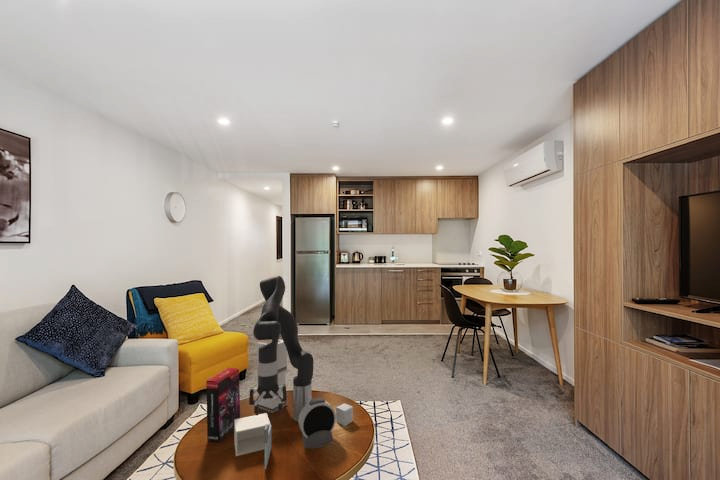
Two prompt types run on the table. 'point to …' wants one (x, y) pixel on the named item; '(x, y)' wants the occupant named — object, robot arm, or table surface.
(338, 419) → the product box
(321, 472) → the table surface
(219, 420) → the graphics card box
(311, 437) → the alarm clock
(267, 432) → the grey flat panel
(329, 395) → the table surface
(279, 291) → the robot arm
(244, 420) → the carton
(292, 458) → the table surface
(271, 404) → the grey square tower
